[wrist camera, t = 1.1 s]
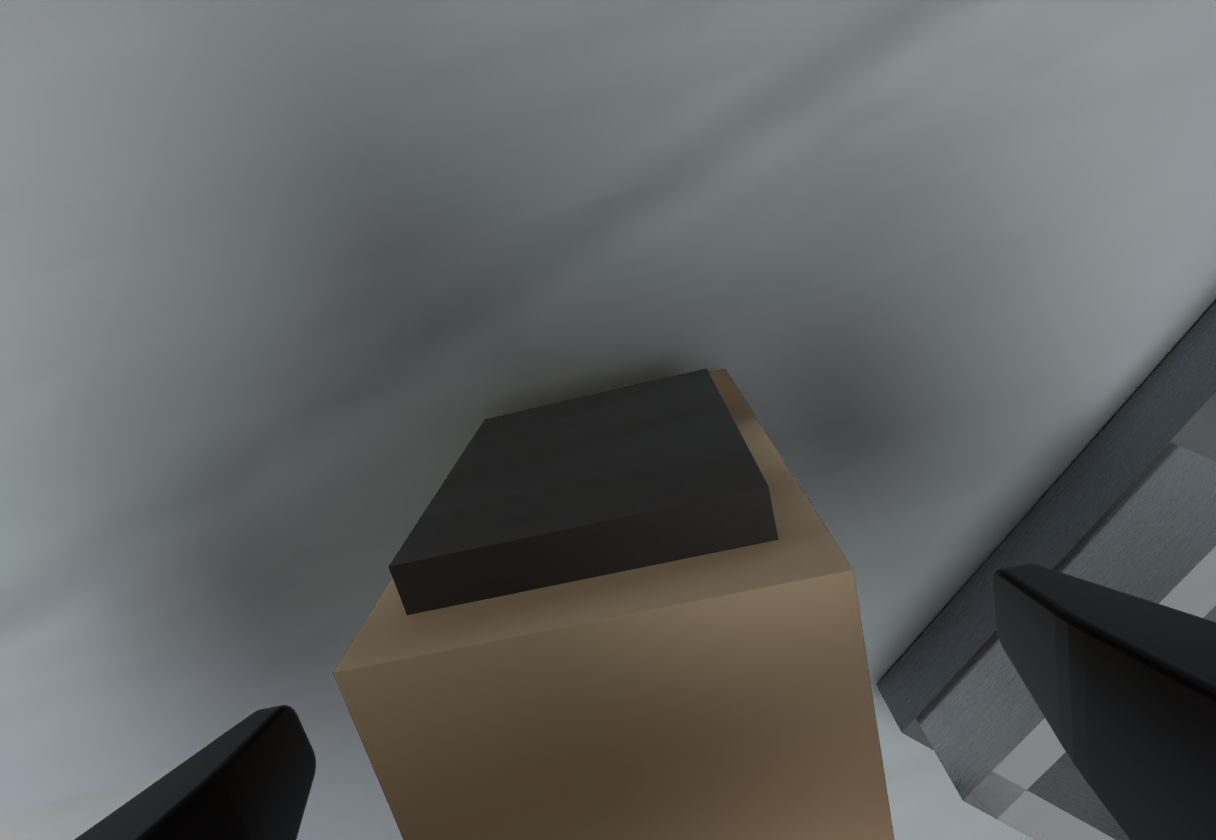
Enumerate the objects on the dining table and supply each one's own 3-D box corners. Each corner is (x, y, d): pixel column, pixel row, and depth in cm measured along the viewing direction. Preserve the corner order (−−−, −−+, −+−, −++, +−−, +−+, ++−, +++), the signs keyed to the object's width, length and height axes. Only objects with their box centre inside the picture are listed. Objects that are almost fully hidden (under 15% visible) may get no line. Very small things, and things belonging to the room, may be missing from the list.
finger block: (480, 396, 14) (309, 620, 6) (719, 340, 14) (843, 510, 6) (539, 587, 15) (455, 964, 8) (759, 542, 15) (902, 895, 7)
